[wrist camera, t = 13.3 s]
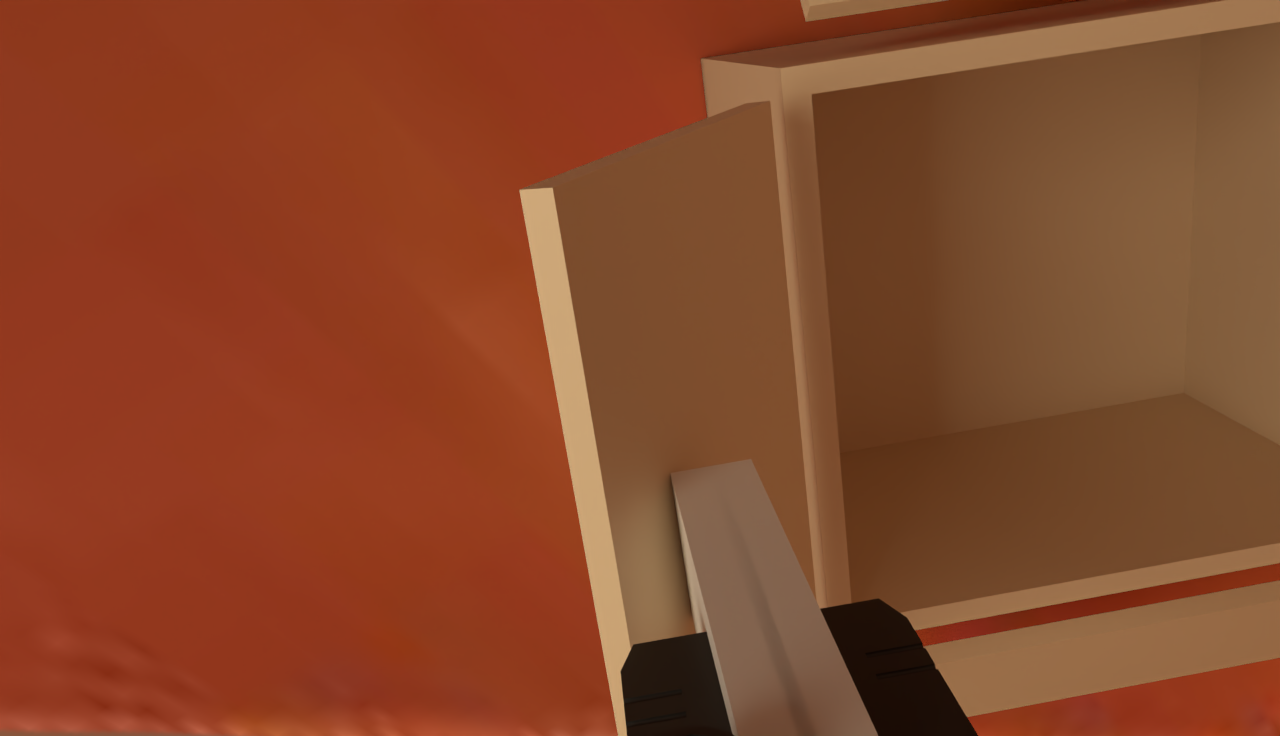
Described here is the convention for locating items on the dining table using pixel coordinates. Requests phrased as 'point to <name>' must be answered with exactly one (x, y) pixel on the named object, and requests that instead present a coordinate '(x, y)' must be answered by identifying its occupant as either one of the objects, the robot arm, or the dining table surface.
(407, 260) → the dining table surface
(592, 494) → the flap
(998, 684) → the flap
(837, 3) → the flap
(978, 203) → the carton
